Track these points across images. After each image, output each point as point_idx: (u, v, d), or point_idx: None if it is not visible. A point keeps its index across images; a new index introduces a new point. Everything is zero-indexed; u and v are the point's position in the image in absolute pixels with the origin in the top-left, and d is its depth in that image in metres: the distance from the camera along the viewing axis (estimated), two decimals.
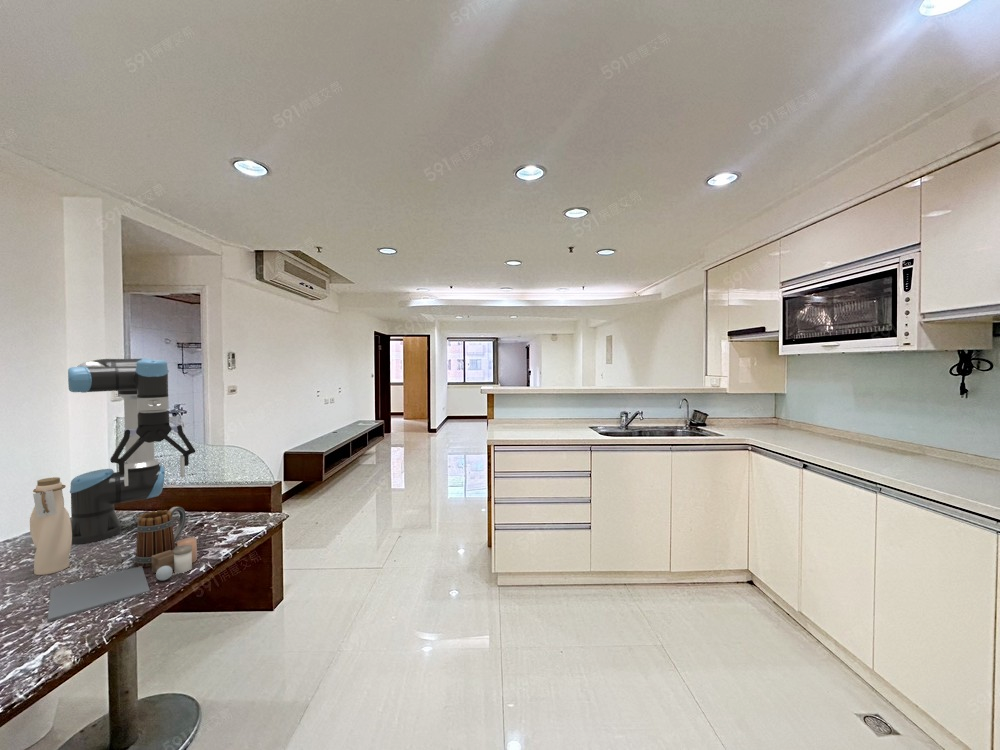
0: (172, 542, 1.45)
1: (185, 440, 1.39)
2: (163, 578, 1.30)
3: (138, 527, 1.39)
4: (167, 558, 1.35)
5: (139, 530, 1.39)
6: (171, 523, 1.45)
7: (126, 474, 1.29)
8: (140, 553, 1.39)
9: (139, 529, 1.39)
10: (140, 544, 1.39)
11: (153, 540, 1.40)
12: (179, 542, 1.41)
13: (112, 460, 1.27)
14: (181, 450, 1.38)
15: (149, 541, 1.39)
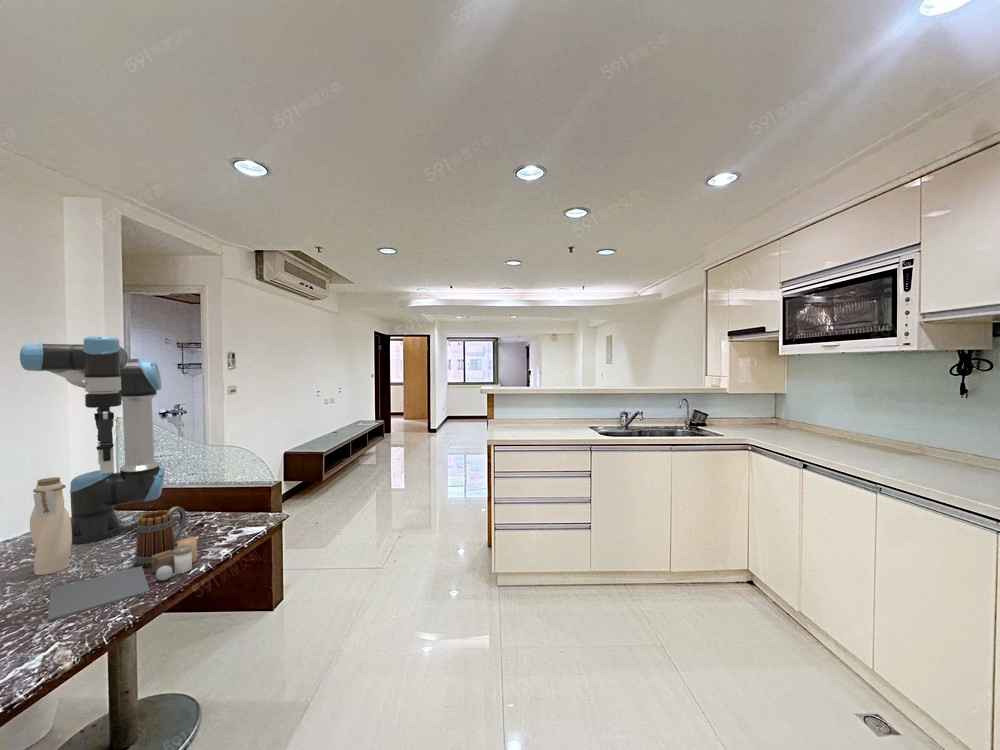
0: (172, 542, 1.45)
1: (99, 431, 1.18)
2: (163, 578, 1.30)
3: (138, 527, 1.39)
4: (167, 558, 1.35)
5: (139, 530, 1.39)
6: (171, 523, 1.45)
7: (98, 452, 1.28)
8: (140, 553, 1.39)
9: (139, 529, 1.39)
10: (140, 544, 1.39)
11: (153, 540, 1.40)
12: (179, 542, 1.41)
13: None
14: None
15: (149, 541, 1.39)
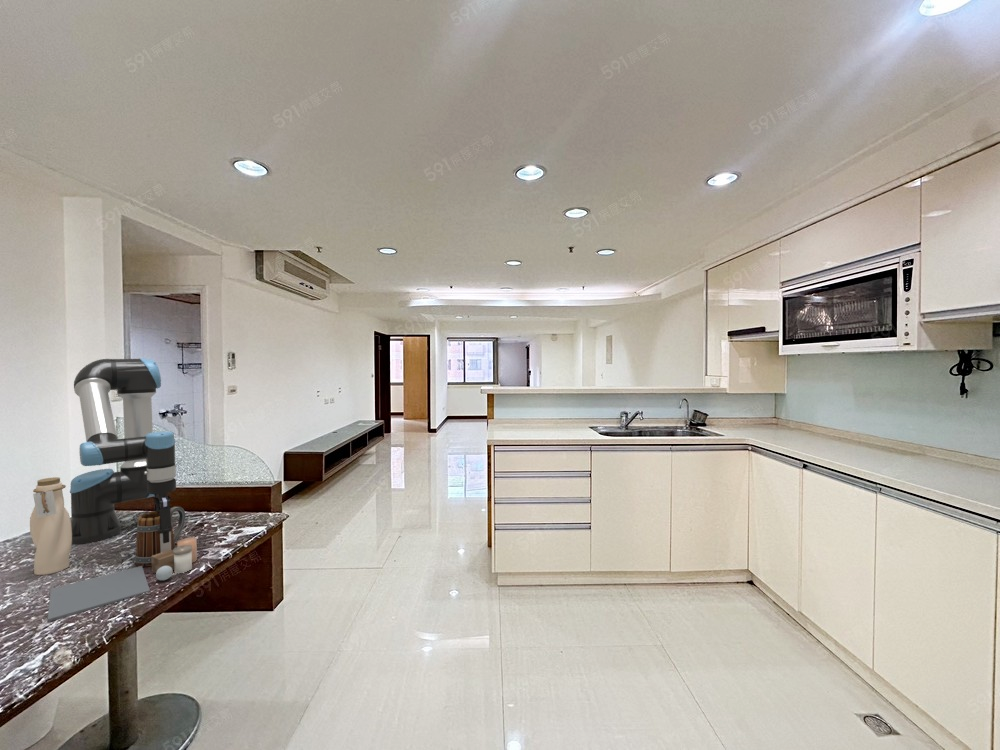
0: (172, 542, 1.45)
1: (160, 517, 1.39)
2: (163, 578, 1.30)
3: (138, 527, 1.40)
4: (168, 558, 1.35)
5: (139, 530, 1.39)
6: (171, 523, 1.45)
7: None
8: (140, 553, 1.39)
9: (139, 529, 1.39)
10: (140, 544, 1.39)
11: (153, 540, 1.40)
12: (179, 542, 1.41)
13: None
14: (160, 526, 1.41)
15: (149, 541, 1.39)
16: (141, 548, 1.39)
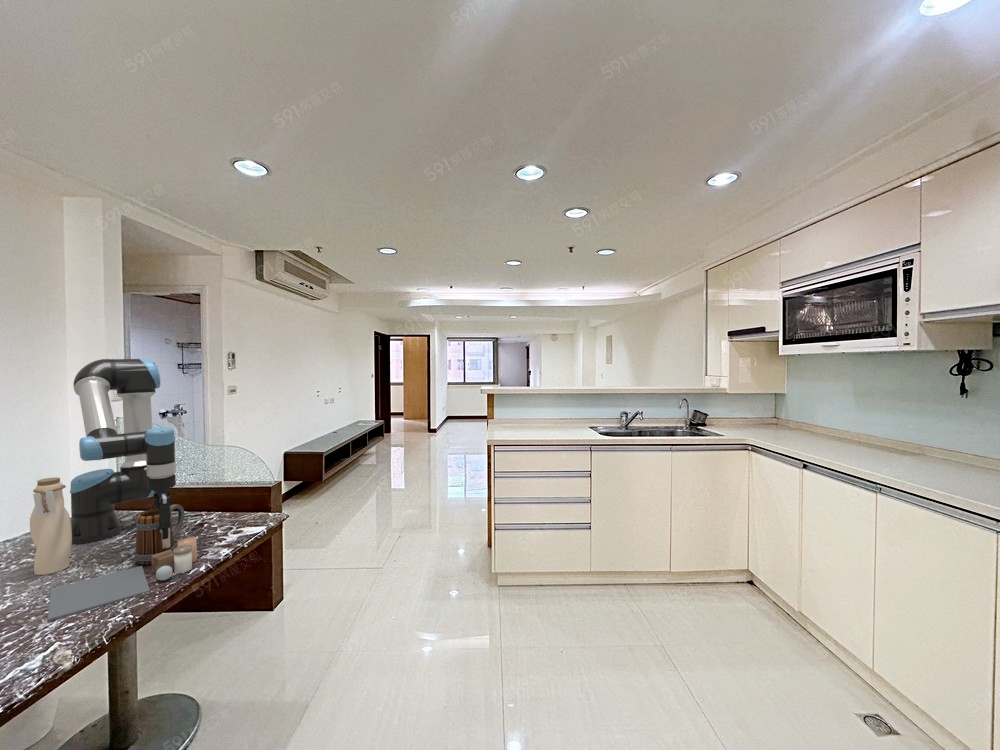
0: (171, 540, 1.45)
1: (160, 514, 1.40)
2: (163, 578, 1.30)
3: (137, 525, 1.40)
4: (168, 558, 1.35)
5: (138, 528, 1.40)
6: None
7: None
8: (140, 551, 1.40)
9: (138, 527, 1.40)
10: (139, 542, 1.40)
11: (153, 538, 1.40)
12: (179, 542, 1.41)
13: None
14: None
15: (149, 539, 1.40)
16: (141, 546, 1.40)
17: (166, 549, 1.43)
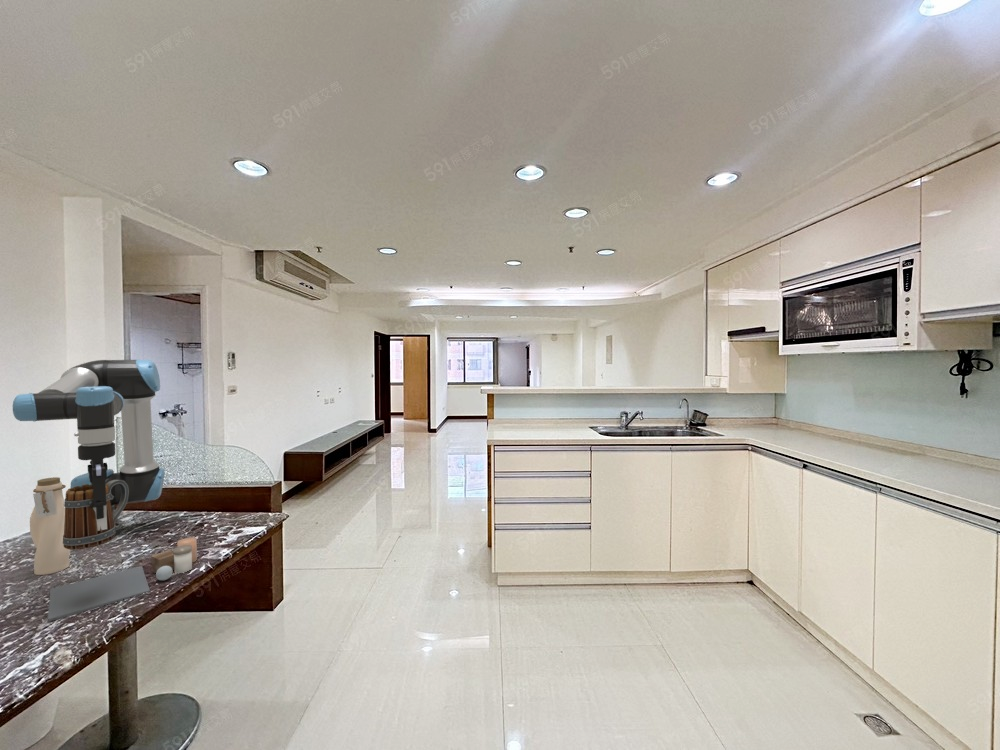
0: (109, 520, 1.21)
1: (93, 488, 1.16)
2: (163, 578, 1.30)
3: (65, 502, 1.15)
4: (168, 558, 1.35)
5: (66, 506, 1.15)
6: (108, 498, 1.21)
7: None
8: (68, 533, 1.15)
9: (66, 504, 1.15)
10: (68, 522, 1.15)
11: (84, 517, 1.16)
12: (179, 542, 1.41)
13: None
14: None
15: (79, 519, 1.15)
16: (69, 527, 1.15)
17: (102, 531, 1.18)
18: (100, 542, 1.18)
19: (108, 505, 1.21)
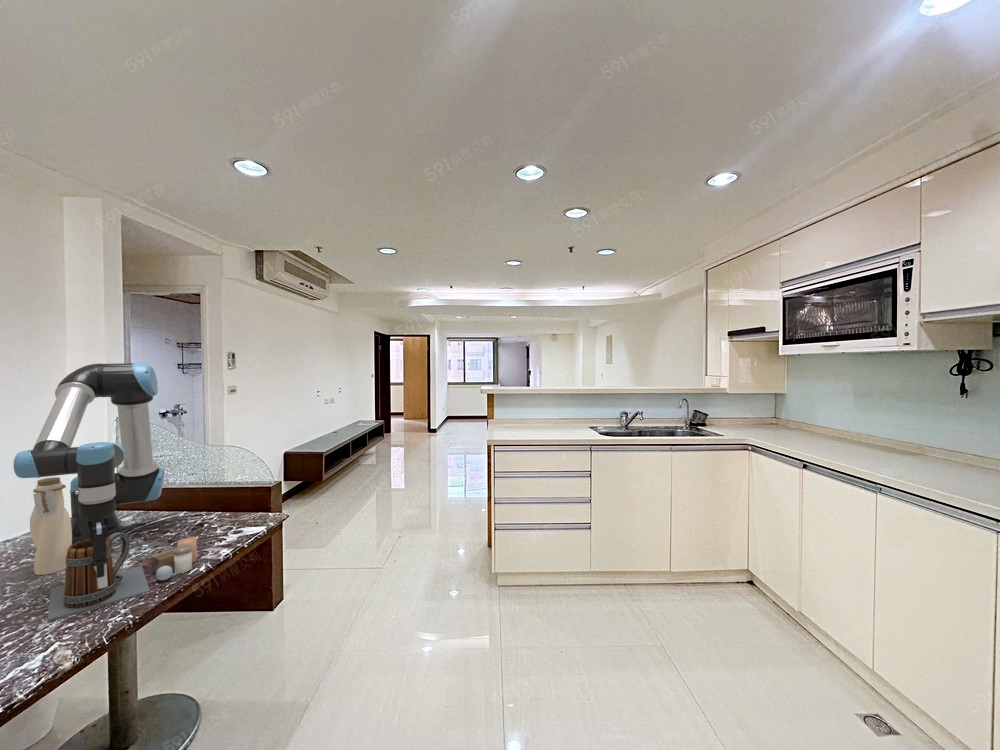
0: (110, 576, 1.21)
1: (93, 547, 1.16)
2: (163, 578, 1.30)
3: (66, 560, 1.16)
4: (168, 558, 1.35)
5: (67, 563, 1.15)
6: (109, 553, 1.21)
7: None
8: (69, 591, 1.15)
9: (67, 562, 1.15)
10: (69, 580, 1.15)
11: (85, 575, 1.16)
12: (179, 542, 1.41)
13: None
14: None
15: (80, 577, 1.15)
16: (70, 585, 1.15)
17: (102, 588, 1.18)
18: (100, 599, 1.18)
19: (109, 561, 1.21)
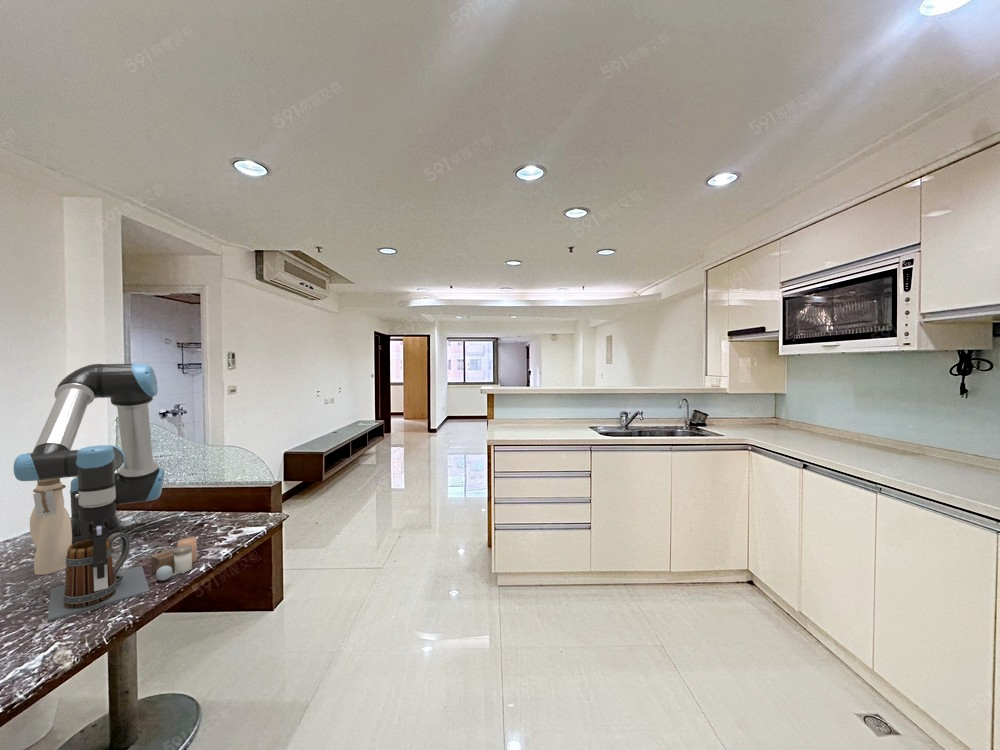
0: (110, 576, 1.21)
1: (93, 548, 1.15)
2: (163, 578, 1.30)
3: (66, 560, 1.16)
4: (168, 558, 1.35)
5: (67, 564, 1.15)
6: (109, 554, 1.21)
7: None
8: (69, 591, 1.15)
9: (67, 562, 1.15)
10: (69, 580, 1.15)
11: (85, 575, 1.16)
12: (179, 542, 1.41)
13: None
14: None
15: (80, 577, 1.15)
16: (70, 585, 1.15)
17: None
18: (100, 599, 1.18)
19: (109, 561, 1.21)
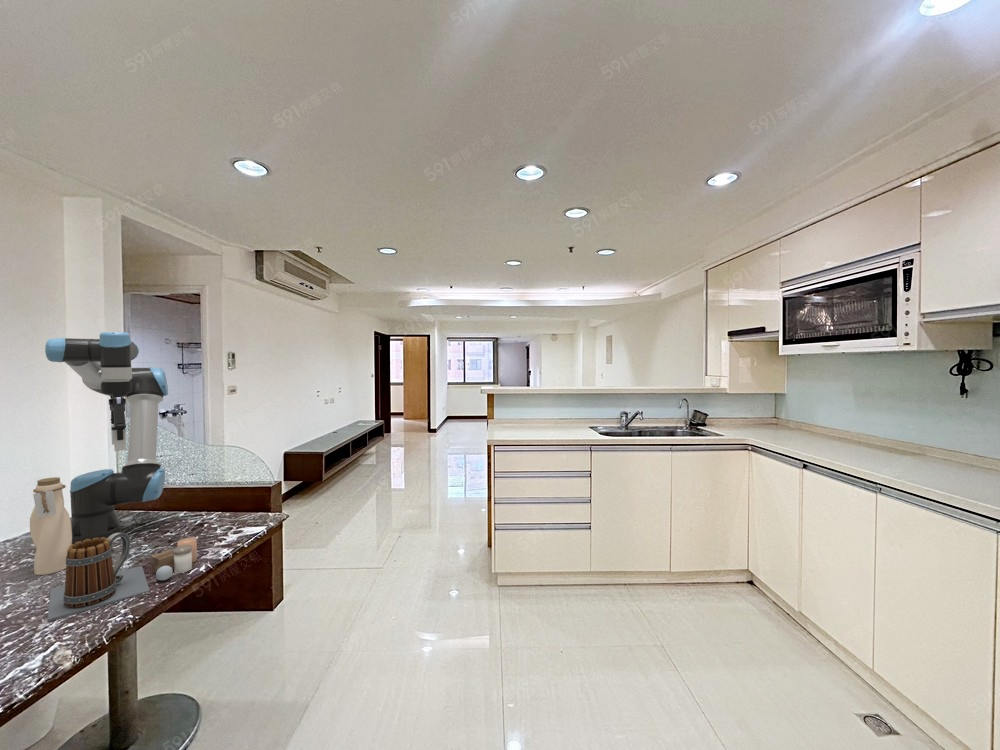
0: (110, 576, 1.21)
1: (114, 414, 1.35)
2: (163, 578, 1.30)
3: (66, 560, 1.16)
4: (168, 558, 1.35)
5: (67, 564, 1.15)
6: (109, 554, 1.21)
7: (111, 434, 1.46)
8: (69, 591, 1.15)
9: (67, 562, 1.15)
10: (69, 580, 1.15)
11: (85, 575, 1.16)
12: (179, 542, 1.41)
13: (110, 419, 1.48)
14: (114, 423, 1.36)
15: (80, 577, 1.15)
16: (70, 585, 1.15)
17: (102, 588, 1.18)
18: (100, 599, 1.18)
19: (109, 561, 1.21)
